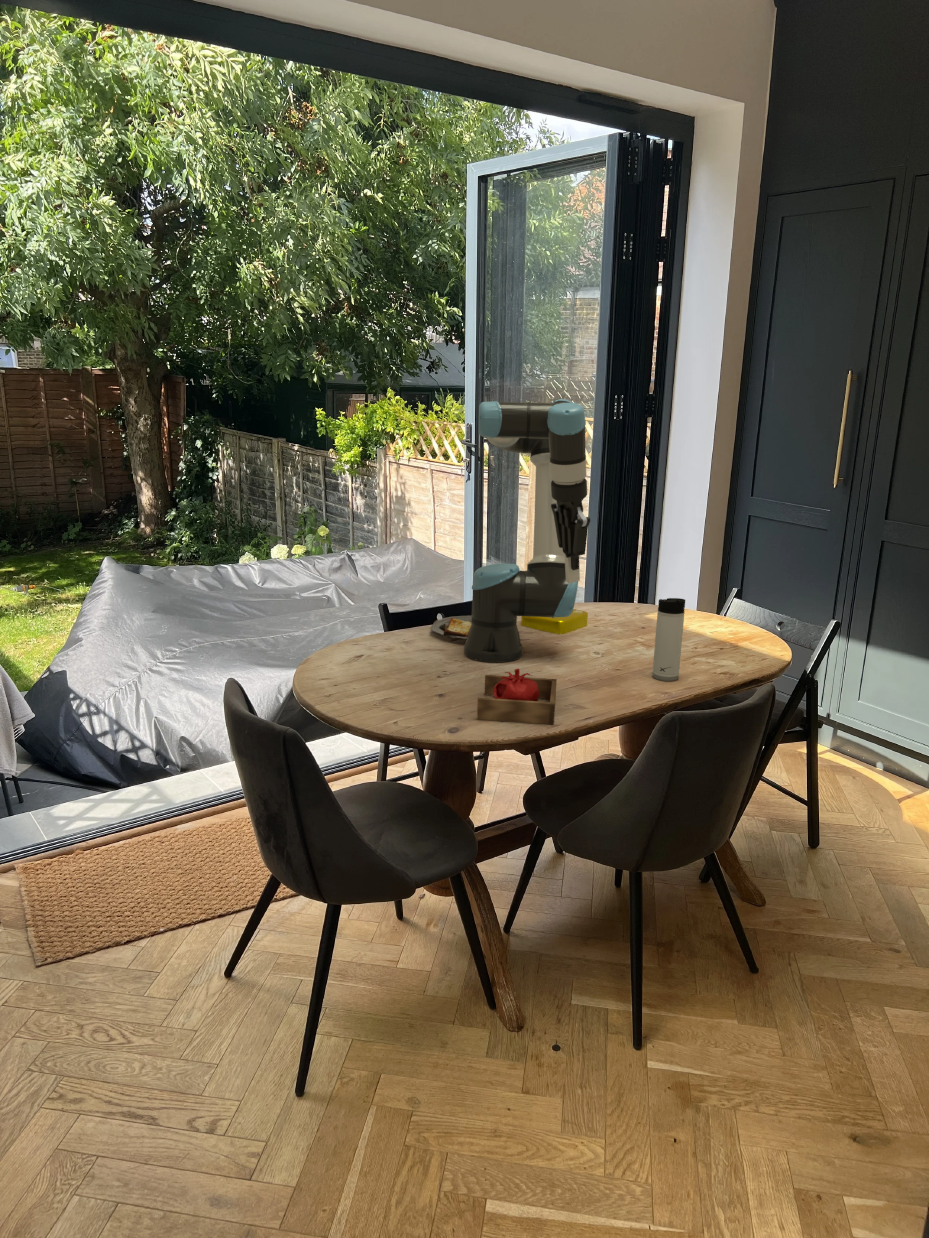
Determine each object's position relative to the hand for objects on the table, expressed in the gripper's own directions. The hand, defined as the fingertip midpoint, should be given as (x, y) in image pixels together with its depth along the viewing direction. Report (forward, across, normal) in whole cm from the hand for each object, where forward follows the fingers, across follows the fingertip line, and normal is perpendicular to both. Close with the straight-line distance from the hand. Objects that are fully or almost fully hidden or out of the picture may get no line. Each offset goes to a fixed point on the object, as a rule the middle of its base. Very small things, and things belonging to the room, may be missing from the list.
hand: (572, 580), depth 197 cm
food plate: (+33, +47, +6) cm, 58 cm away
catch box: (+22, -9, +20) cm, 31 cm away
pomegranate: (+22, -9, +20) cm, 31 cm away
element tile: (+38, +47, -19) cm, 63 cm away
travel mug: (+31, -3, -23) cm, 38 cm away
